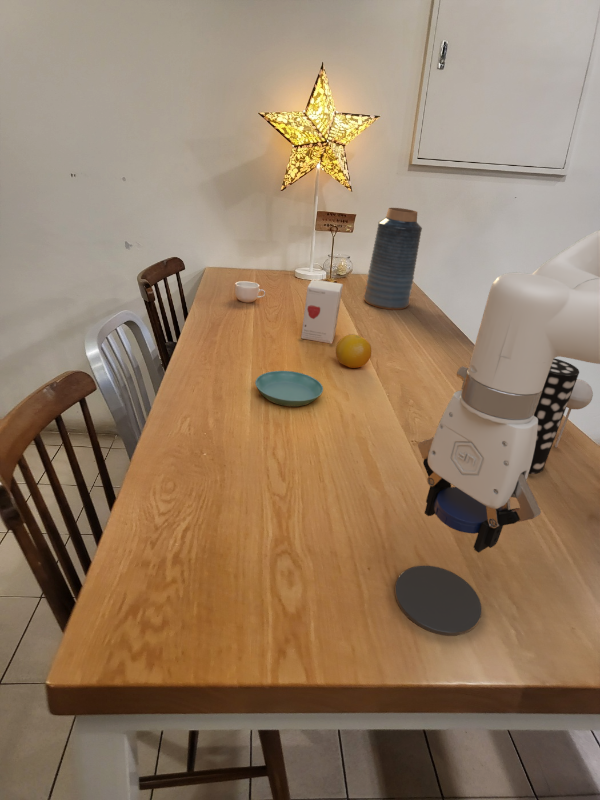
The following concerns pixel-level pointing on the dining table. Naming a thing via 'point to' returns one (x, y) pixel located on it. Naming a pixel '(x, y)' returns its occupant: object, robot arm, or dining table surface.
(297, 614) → the dining table surface
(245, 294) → the teacup
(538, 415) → the spotted tube
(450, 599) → the coaster
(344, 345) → the fruit
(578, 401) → the lollipop
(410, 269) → the vase
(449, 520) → the lid
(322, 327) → the rectangular carton
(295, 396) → the saucer
